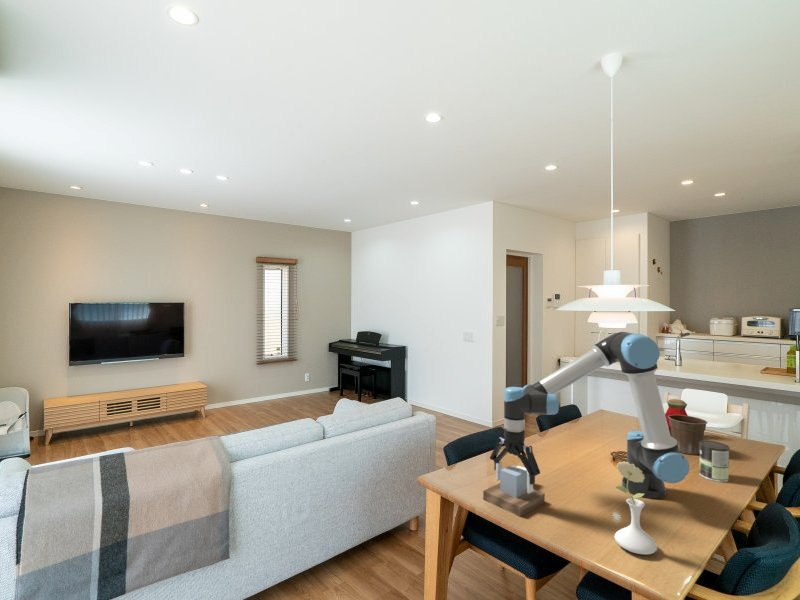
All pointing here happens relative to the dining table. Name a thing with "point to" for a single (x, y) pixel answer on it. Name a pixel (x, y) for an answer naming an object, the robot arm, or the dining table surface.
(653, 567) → the dining table surface
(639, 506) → the flower in vase
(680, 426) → the plant pot
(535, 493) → the walnut block
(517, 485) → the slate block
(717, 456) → the coffee can
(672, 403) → the bottle
